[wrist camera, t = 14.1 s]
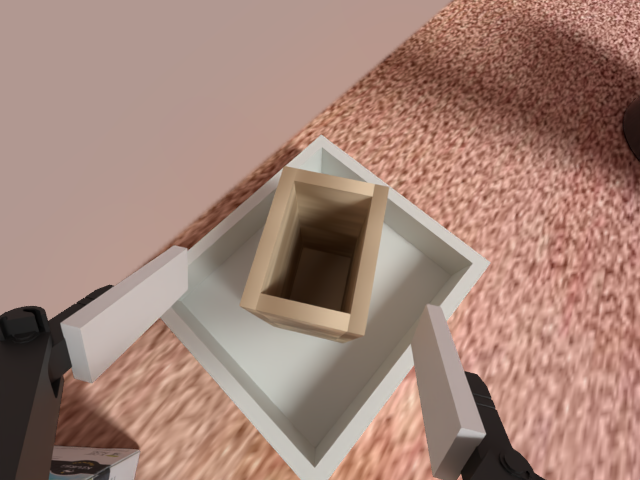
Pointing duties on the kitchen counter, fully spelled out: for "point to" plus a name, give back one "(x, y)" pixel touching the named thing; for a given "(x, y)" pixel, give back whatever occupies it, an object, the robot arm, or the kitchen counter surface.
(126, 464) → the tea box
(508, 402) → the kitchen counter surface
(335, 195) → the box
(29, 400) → the robot arm
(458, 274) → the tray
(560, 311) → the kitchen counter surface
